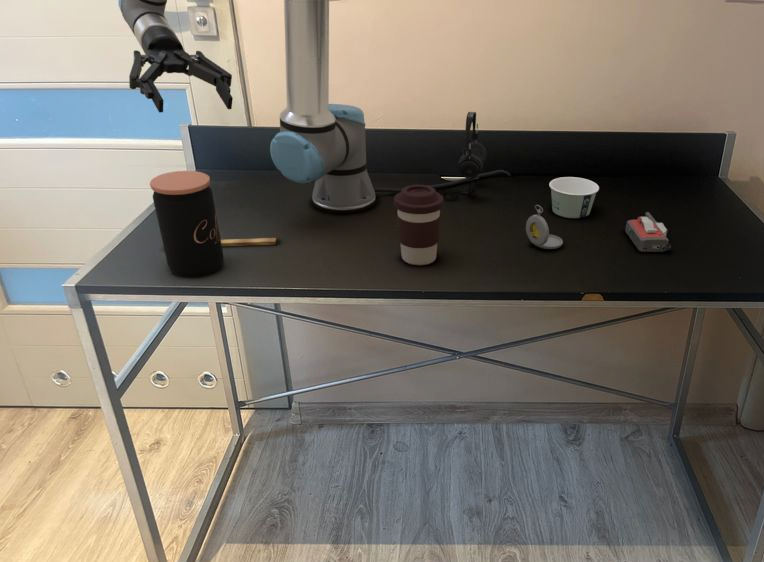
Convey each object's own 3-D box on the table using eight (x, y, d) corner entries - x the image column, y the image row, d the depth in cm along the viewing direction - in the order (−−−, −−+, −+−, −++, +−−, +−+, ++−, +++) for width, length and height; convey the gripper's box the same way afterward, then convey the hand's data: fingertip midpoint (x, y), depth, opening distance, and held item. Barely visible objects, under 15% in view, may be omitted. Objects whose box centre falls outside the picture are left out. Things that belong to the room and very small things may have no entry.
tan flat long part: (276, 239, 153) (276, 236, 152) (275, 246, 150) (275, 242, 150) (170, 243, 149) (170, 240, 149) (167, 250, 147) (167, 246, 146)
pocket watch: (565, 241, 157) (570, 198, 152) (556, 256, 150) (561, 212, 145) (530, 235, 159) (533, 193, 154) (520, 249, 153) (523, 206, 147)
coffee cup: (424, 273, 142) (424, 203, 133) (385, 260, 146) (383, 191, 138) (451, 256, 149) (453, 188, 141) (413, 244, 153) (412, 178, 145)
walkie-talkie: (678, 254, 153) (650, 218, 170) (682, 235, 151) (653, 201, 167) (640, 255, 152) (614, 218, 169) (643, 236, 150) (617, 201, 167)
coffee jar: (207, 281, 136) (190, 193, 126) (157, 274, 137) (137, 186, 128) (234, 258, 144) (220, 173, 135) (187, 252, 146) (170, 168, 136)
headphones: (444, 179, 188) (446, 103, 177) (486, 183, 187) (490, 106, 176) (435, 200, 175) (435, 119, 164) (479, 204, 174) (483, 122, 163)
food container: (537, 205, 174) (539, 180, 171) (577, 199, 179) (580, 174, 175) (564, 223, 166) (567, 197, 162) (605, 216, 170) (609, 190, 167)
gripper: (216, 58, 157) (254, 117, 148) (95, 58, 142) (130, 124, 134) (219, 26, 151) (259, 86, 143) (93, 24, 137) (130, 90, 129)
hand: (196, 105), depth 138 cm, fingers open, 13 cm apart
